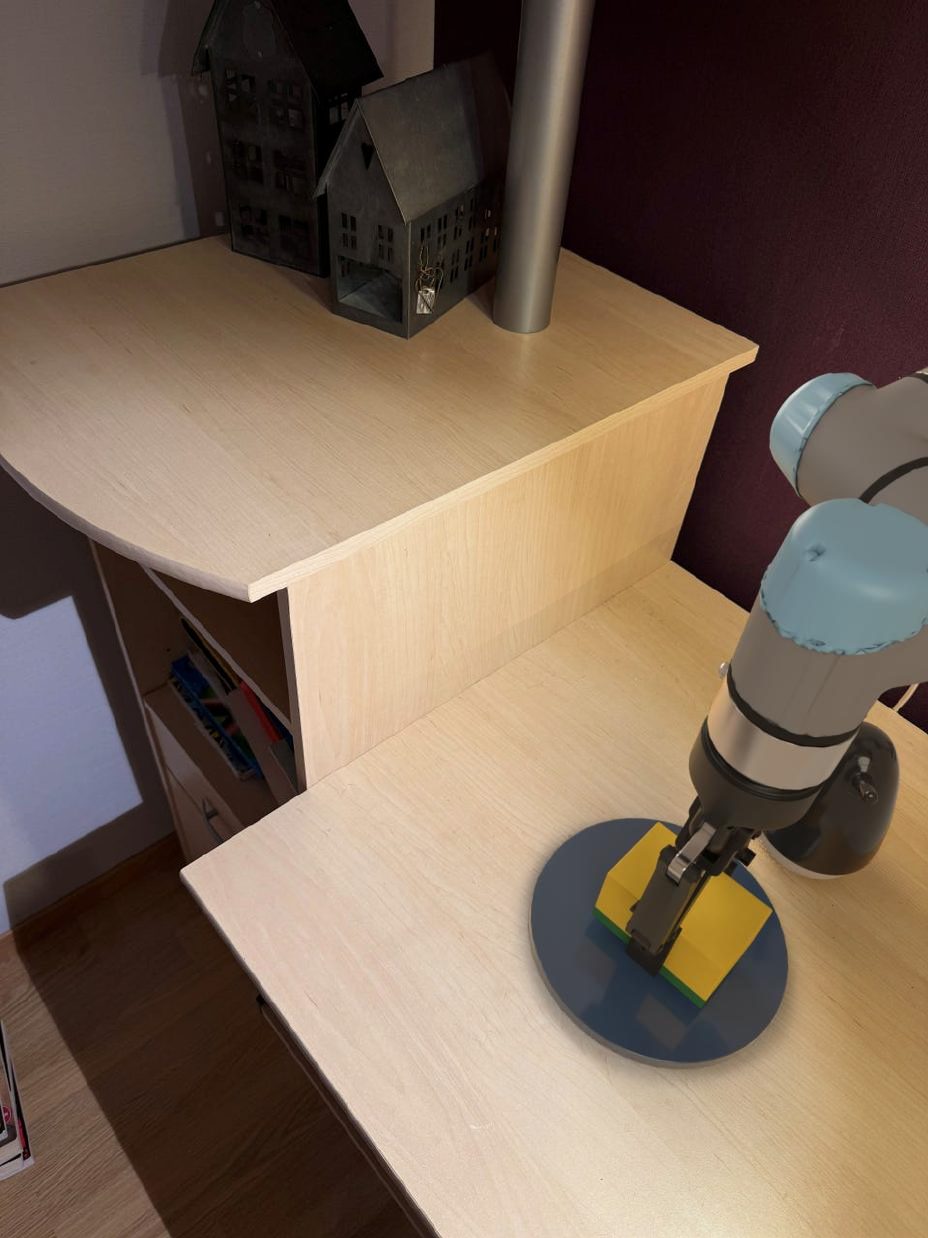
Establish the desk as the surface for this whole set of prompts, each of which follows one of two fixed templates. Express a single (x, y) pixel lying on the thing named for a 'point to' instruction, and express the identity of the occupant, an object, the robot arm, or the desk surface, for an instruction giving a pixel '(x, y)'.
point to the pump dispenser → (844, 812)
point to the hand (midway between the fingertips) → (669, 929)
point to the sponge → (686, 918)
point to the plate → (620, 988)
